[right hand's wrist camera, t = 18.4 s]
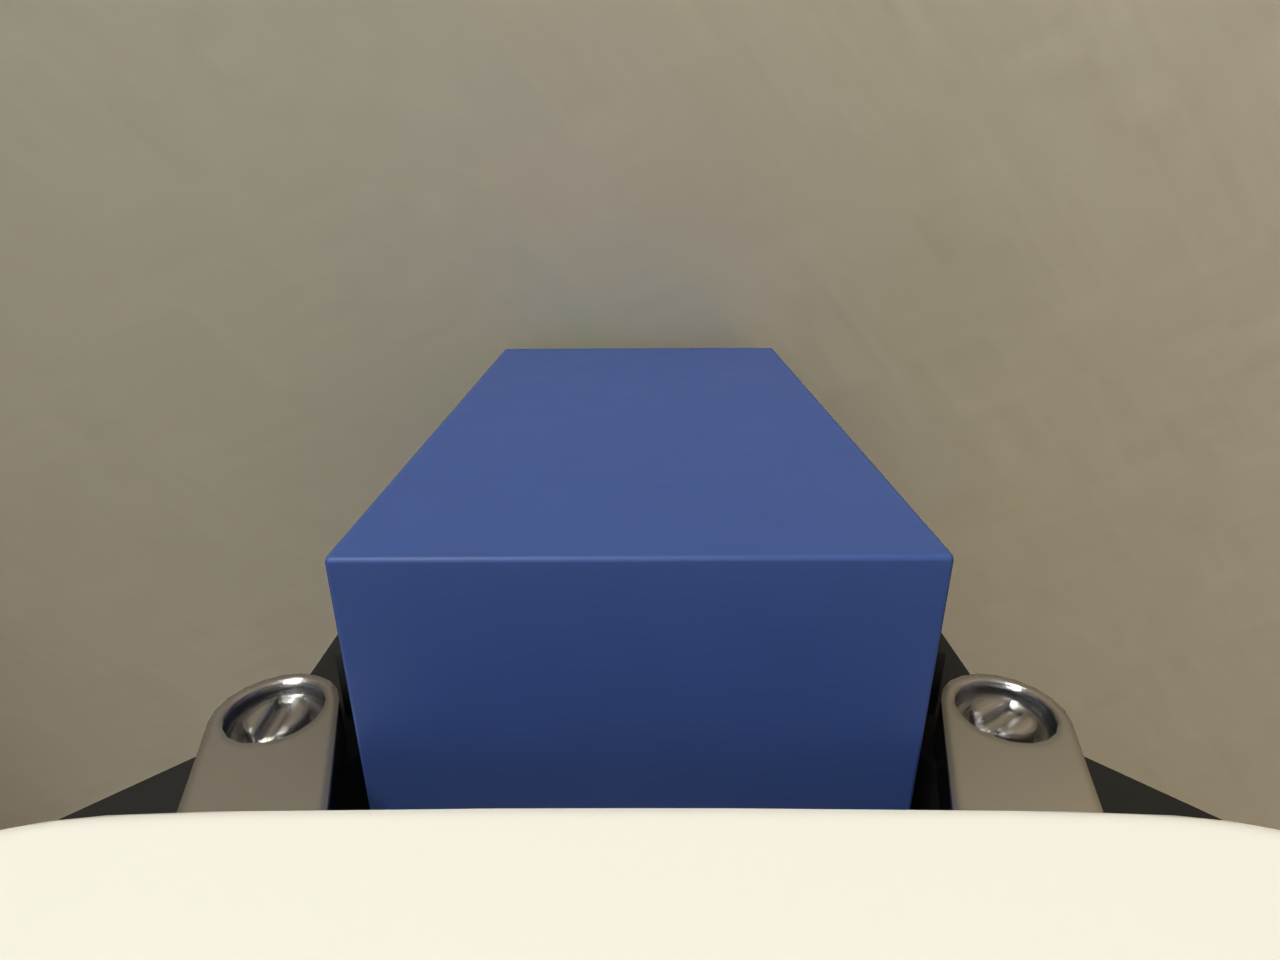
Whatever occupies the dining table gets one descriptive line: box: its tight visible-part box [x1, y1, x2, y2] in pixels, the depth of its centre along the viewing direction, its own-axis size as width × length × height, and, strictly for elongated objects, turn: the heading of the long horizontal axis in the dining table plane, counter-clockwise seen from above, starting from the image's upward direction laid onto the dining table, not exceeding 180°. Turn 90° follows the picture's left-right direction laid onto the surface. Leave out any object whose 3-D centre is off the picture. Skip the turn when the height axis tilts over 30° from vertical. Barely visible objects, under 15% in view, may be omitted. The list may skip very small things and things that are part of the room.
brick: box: [325, 348, 953, 810], centre depth 11 cm, size 5×7×9 cm
